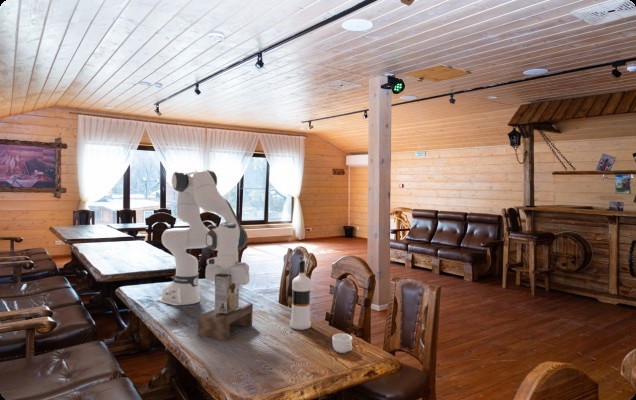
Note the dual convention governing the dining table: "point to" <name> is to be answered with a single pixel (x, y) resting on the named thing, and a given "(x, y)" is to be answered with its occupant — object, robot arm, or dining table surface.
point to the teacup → (342, 342)
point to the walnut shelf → (224, 322)
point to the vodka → (301, 300)
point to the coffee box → (225, 294)
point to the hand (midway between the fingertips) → (226, 292)
